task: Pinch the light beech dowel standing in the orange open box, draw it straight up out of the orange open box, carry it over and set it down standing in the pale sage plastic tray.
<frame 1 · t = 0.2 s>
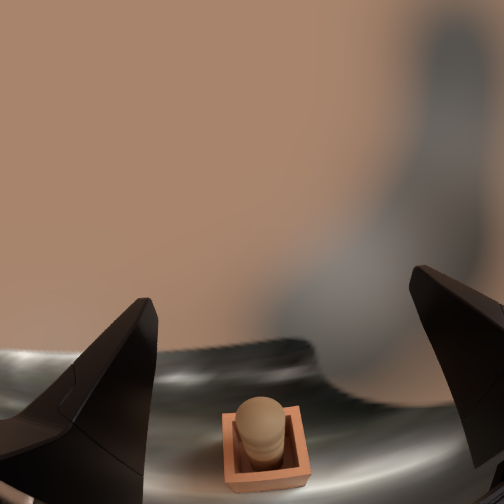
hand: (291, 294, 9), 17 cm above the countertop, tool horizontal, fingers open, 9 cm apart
orange open box: (267, 462, 18), on the countertop
pin: (266, 460, 17), resting on orange open box
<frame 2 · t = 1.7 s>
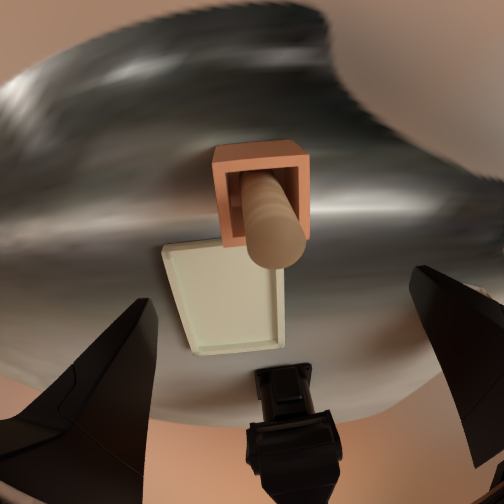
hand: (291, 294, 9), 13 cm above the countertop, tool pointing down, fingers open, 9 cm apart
tray: (230, 298, 25), on the countertop
orange open box: (256, 176, 20), on the countertop
pin: (256, 178, 19), resting on orange open box
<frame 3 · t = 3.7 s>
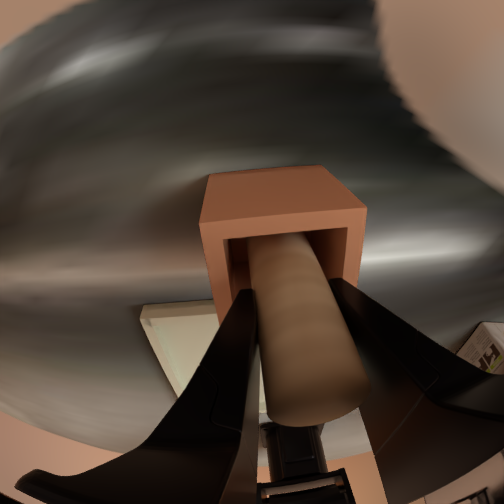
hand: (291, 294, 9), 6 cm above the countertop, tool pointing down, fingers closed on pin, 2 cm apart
tray: (232, 362, 19), on the countertop
coffee box: (482, 341, 23), on the countertop
orange open box: (269, 219, 14), on the countertop
pin: (270, 223, 13), point 1 cm above the countertop, touching orange open box, gripper
when the fingers open (6 cm above the countertop, at t = 7.4 s): pin stays where it is, resting on tray.
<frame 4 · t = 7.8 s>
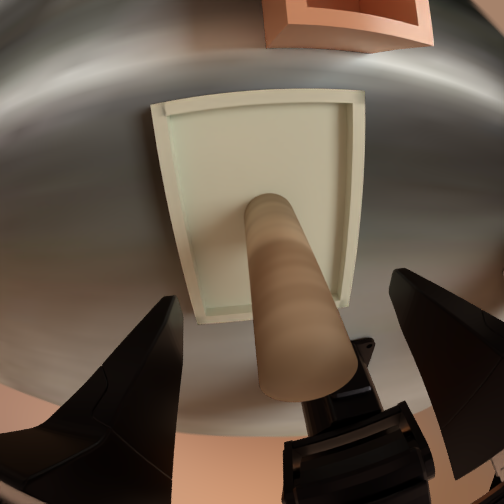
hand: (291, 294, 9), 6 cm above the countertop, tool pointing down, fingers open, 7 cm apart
tray: (267, 212, 14), on the countertop
orange open box: (316, 2, 9), on the countertop
pin: (268, 216, 14), point 1 cm above the countertop, touching tray
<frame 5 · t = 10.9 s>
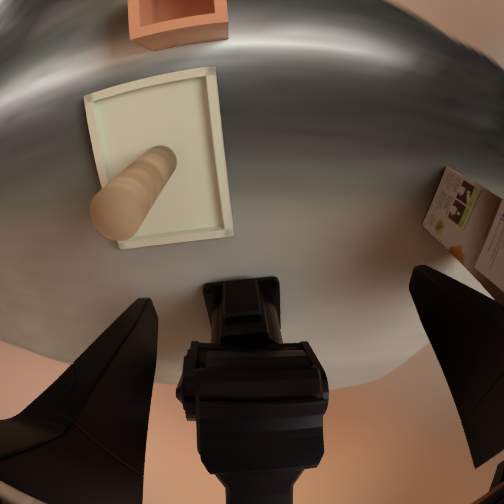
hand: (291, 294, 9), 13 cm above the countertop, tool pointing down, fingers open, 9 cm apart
tray: (161, 160, 19), on the countertop
coffee box: (460, 208, 23), on the countertop
orange open box: (187, 12, 14), on the countertop
pin: (160, 162, 19), point 1 cm above the countertop, touching tray
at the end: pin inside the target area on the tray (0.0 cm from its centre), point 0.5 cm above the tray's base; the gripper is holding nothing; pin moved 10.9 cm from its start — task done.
